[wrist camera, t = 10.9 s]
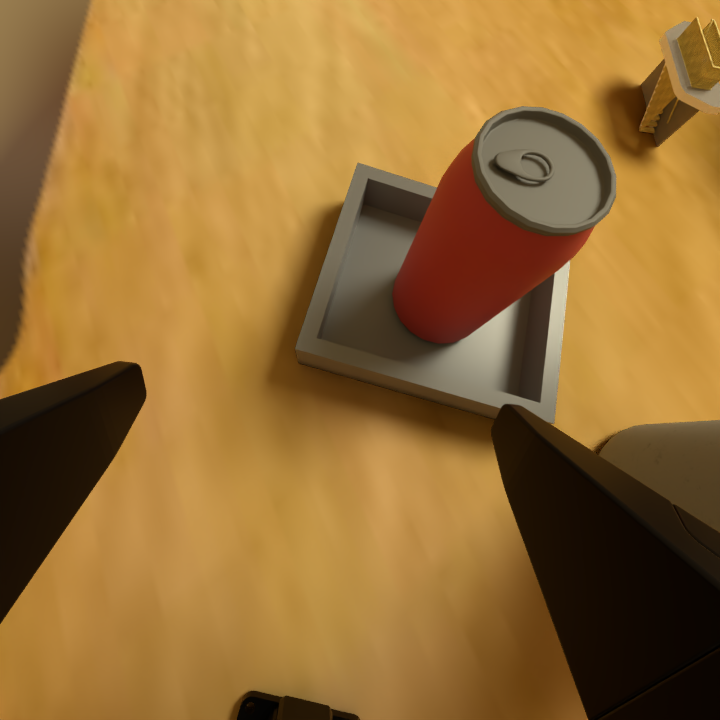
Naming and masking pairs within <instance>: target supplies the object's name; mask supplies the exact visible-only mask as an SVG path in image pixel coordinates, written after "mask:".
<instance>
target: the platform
mask: <svg viewBox="0 0 720 720" xmlns="http://www.w3.org/2000/svg"><path fill="white" fill-rule="evenodd" d="M713 25H714V26H713ZM707 27H708V28H707ZM706 28H707V29H706ZM705 29H706V30H705ZM704 30H705V31H704ZM704 30H703V31H702V29H701V26H700V23H699V20H698V17H696V18H695V19H694V20H693V21H692V22H686V21H683V22H682V23H680V24H678V25H676V26H675V27H673V28H671V29H669V30H668V31H666V32H665V33H664V35H663V36H662V37H661V38H660V39H659V42H660V45H661V49H662V52H663V56H664V60H663V61H662V62H661V63H660V64H659V65H658V66H657V67H656V68H655V70H654V71H653V72H652V73H651V74H650V75H649V76H648V77H647V79H646V80H645V81H644V82H643V83H642V84H641V87H642V91H643V95H644V99H645V103H646V107H647V109H646V112H645V114H644V117H643V119H642V122H641V124H640V128H639V129H638V130H639V131H641V132H648V133H653V134H654V138H655V142H656V146H657V147H658V146H660V145H661V144H662V143H663V142H664V141H665V140H666V139H667V138H669V137H670V136H671V135H672V134H673V133H674V132H675V131H677V130H678V129H679V128H680V127H681V126H682V125H683V124H685V123H686V122H687V121H688V120H689V119H690V118H691V117H693V116H694V115H695V114H696V113H697V112H698V111H699V110H700V111H702V112H704V113H708V114H715V115H716V114H718V113H719V112H720V85H719V81H720V63H719V62H720V54H719V53H720V47H719V46H720V33H719V30H718V27H717V24H716V21H715V20H714V19H711V22H710V23H709V24H708V25H707V26H706V27H705V28H704ZM714 33H715V34H714ZM713 34H714V35H713ZM712 35H713V36H712ZM709 36H710V37H709ZM708 37H709V38H708ZM707 38H708V39H707ZM717 39H718V40H717ZM716 40H717V41H716ZM715 41H716V42H715ZM714 42H715V43H714ZM713 43H714V44H713ZM712 44H713V45H712ZM711 45H712V46H711ZM710 46H711V47H710ZM709 47H710V48H709ZM718 47H719V48H718ZM708 48H709V49H708ZM717 48H718V49H717ZM716 49H717V50H716ZM715 50H716V51H715ZM714 51H715V52H714ZM713 52H714V53H713ZM712 53H713V54H712ZM711 54H712V55H711ZM718 54H719V55H718ZM717 55H718V56H717ZM715 59H716V60H715ZM714 60H715V61H714ZM713 61H714V62H713ZM718 63H719V64H718ZM717 64H718V65H717ZM716 65H717V66H716ZM645 126H650V127H645Z"/></svg>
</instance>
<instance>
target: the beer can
mask: <svg viewBox="0 0 720 720" xmlns="http://www.w3.org/2000/svg"><path fill="white" fill-rule="evenodd" d="M615 198H616V174H615V171H614V168H613V165H612V162H611V159H610V156H609V155H608V153H607V152H606V150H605V149H604V147H603V146H602V144H601V143H600V141H599V140H598V139H597V138H596V137H595V136H594V135H593V134H592V133H591V132H590V131H589V130H587V129H586V128H585V127H584V126H583V125H582V124H580V123H578V122H577V121H575V120H573V119H571V118H570V117H568V116H566V115H564V114H562V113H559V112H556V111H553V110H549V109H546V108H543V107H524V106H522V107H518V108H514V109H509V110H505V111H501V112H499V113H498V114H496V115H495V116H493V117H492V118H490V119H489V120H487V121H486V122H485V123H484V125H483V126H482V128H481V129H480V131H479V132H478V134H477V136H476V137H475V139H473V140H472V141H471V142H470V143H469V144H468V145H467V146H466V147H464V148H463V149H462V150H461V152H460V153H459V154H458V155H457V157H456V158H455V159H454V160H453V162H452V163H451V165H450V166H449V168H448V169H447V171H446V172H445V174H444V175H443V177H442V178H441V181H440V183H439V185H438V187H437V189H436V192H435V194H434V196H433V198H432V200H431V203H430V205H429V207H428V209H427V211H426V214H425V216H424V218H423V220H422V222H421V225H420V227H419V229H418V231H417V233H416V236H415V238H414V240H413V242H412V244H411V246H410V249H409V251H408V253H407V255H406V257H405V260H404V262H403V264H402V266H401V268H400V271H399V273H398V275H397V277H396V279H395V283H394V288H393V292H392V295H393V303H394V308H395V310H396V312H397V315H398V317H399V319H400V321H401V322H402V323H403V324H404V325H405V326H406V327H407V329H408V330H409V331H410V332H412V333H413V334H415V335H416V336H418V337H420V338H421V339H423V340H427V341H430V342H434V343H438V344H439V343H454V342H456V341H459V340H461V339H464V338H466V337H467V336H469V335H470V334H472V333H473V332H474V331H476V330H477V329H478V328H480V327H481V326H483V325H484V324H485V323H487V322H488V321H489V320H491V319H492V318H494V317H495V316H496V315H498V314H499V313H500V312H502V311H503V310H505V309H506V308H507V307H509V306H510V305H511V304H513V303H514V302H516V301H517V300H518V299H520V298H521V297H522V296H524V295H525V294H527V293H528V292H529V291H531V290H532V289H533V288H535V287H536V286H538V285H539V284H540V283H542V282H543V281H544V280H546V279H547V278H548V277H550V276H551V275H553V274H554V273H555V272H557V271H558V270H559V269H561V268H562V267H563V266H564V265H565V264H566V263H567V262H568V261H569V260H571V259H572V258H573V257H574V256H575V255H576V254H577V252H578V251H579V250H580V249H581V248H582V246H583V245H584V244H585V242H586V241H587V239H588V237H589V236H590V234H591V232H592V230H593V228H594V227H595V225H596V224H597V223H598V222H600V221H601V220H602V219H603V218H604V217H605V216H606V215H607V214H609V211H610V209H611V207H612V204H613V202H614V200H615Z"/></svg>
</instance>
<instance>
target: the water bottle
mask: <svg viewBox="0 0 720 720" xmlns="http://www.w3.org/2000/svg"><path fill="white" fill-rule="evenodd" d="M599 456H601V457H602V458H604V459H605V460H607V461H609V462H610V463H612V464H613V465H615V466H616V467H618V468H620V469H621V470H623V471H624V472H626V473H627V474H629V475H630V476H632V477H634V478H635V479H637V480H638V481H640V482H641V483H643V484H644V485H646V486H648V487H649V488H651V489H652V490H654V491H655V492H657V493H659V494H660V495H662V496H663V497H665V498H666V499H668V500H669V501H671V503H672V504H676V505H677V506H679V507H681V508H682V509H684V510H685V511H687V512H688V513H690V514H691V515H693V516H695V517H696V518H698V519H699V520H701V521H703V522H704V523H706V524H707V525H709V526H711V527H712V528H714V529H715V530H717V531H718V532H720V420H714V421H697V422H679V423H662V424H646V425H638V426H633V427H630V428H628V429H625V430H623V431H620V432H619V433H617V434H616V435H615V436H613V437H612V438H611V439H610V440H609V441H608V442H607V443H606V445H605V446H604V447H603V448H602V450H601V451H600V453H599Z"/></svg>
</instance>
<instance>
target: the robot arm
mask: <svg viewBox="0 0 720 720" xmlns="http://www.w3.org/2000/svg"><path fill="white" fill-rule="evenodd" d="M145 399H146V387H145V383H144V378H143V374H142V370H141V367H140V366H139V365H138V364H137V363H132V362H123V361H118V362H114V363H111V364H108V365H105V366H102V367H99V368H96V369H92V370H89V371H86V372H83V373H80V374H77V375H74V376H71V377H68V378H65V379H62V380H59V381H56V382H52V383H49V384H46V385H43V386H40V387H37V388H34V389H31V390H28V391H25V392H22V393H19V394H15V395H12V396H9V397H6V398H3V399H0V624H1V622H2V621H3V619H4V618H5V616H6V615H7V614H8V612H9V611H10V609H11V608H12V606H13V605H14V603H15V602H16V600H17V599H18V597H19V596H20V595H21V593H22V592H23V590H24V589H25V587H26V586H27V584H28V583H29V581H30V580H31V579H32V577H33V576H34V574H35V573H36V571H37V570H38V568H39V567H40V565H41V564H42V563H43V561H44V560H45V558H46V557H47V555H48V554H49V552H50V551H51V549H52V548H53V546H54V545H55V544H56V542H57V541H58V539H59V538H60V536H61V535H62V533H63V532H64V530H65V529H66V528H67V526H68V525H69V523H70V522H71V520H72V519H73V517H74V516H75V514H76V513H77V512H78V510H79V509H80V507H81V506H82V504H83V503H84V501H85V500H86V498H87V497H88V495H89V494H90V493H91V491H92V490H93V488H94V487H95V485H96V484H97V482H98V481H99V479H100V478H101V477H102V475H103V474H104V472H105V471H106V469H107V468H108V466H109V465H110V463H111V462H112V460H113V459H114V457H115V455H116V454H117V452H118V450H119V449H120V447H121V445H122V443H123V441H124V439H125V438H126V436H127V434H128V432H129V430H130V428H131V426H132V424H133V423H134V421H135V419H136V417H137V415H138V413H139V411H140V410H141V408H142V406H143V404H144V402H145ZM491 437H492V441H493V445H494V449H495V453H496V457H497V461H498V465H499V469H500V473H501V477H502V481H503V485H504V488H505V491H506V494H507V497H508V500H509V503H510V506H511V508H512V511H513V514H514V517H515V519H516V522H517V525H518V528H519V530H520V533H521V536H522V539H523V541H524V544H525V547H526V550H527V552H528V555H529V558H530V561H531V563H532V566H533V569H534V572H535V574H536V577H537V580H538V583H539V585H540V588H541V591H542V594H543V596H544V599H545V602H546V605H547V607H548V610H549V613H550V616H551V618H552V621H553V624H554V627H555V629H556V632H557V635H558V638H559V640H560V643H561V646H562V649H563V652H564V654H565V657H566V660H567V663H568V665H569V668H570V671H571V674H572V676H573V679H574V682H575V685H576V687H577V690H578V693H579V696H580V698H581V701H582V704H583V707H584V709H585V712H586V715H587V718H588V720H720V532H718V531H717V530H715V529H714V528H712V527H711V526H709V525H707V524H706V523H704V522H703V521H701V520H699V519H698V518H696V517H695V516H693V515H691V514H690V513H688V512H687V511H685V510H684V509H682V508H681V507H679V506H677V505H676V504H672V503H671V501H669V500H668V499H666V498H665V497H663V496H662V495H660V494H659V493H657V492H655V491H654V490H652V489H651V488H649V487H648V486H646V485H644V484H643V483H641V482H640V481H638V480H637V479H635V478H634V477H632V476H630V475H629V474H627V473H626V472H624V471H623V470H621V469H620V468H618V467H616V466H615V465H613V464H612V463H610V462H609V461H607V460H605V459H604V458H602V457H601V456H599V455H598V454H596V453H595V452H593V451H591V450H590V449H588V448H587V447H585V446H584V445H582V444H581V443H579V442H577V441H576V440H574V439H573V438H571V437H570V436H568V435H566V434H565V433H563V432H562V431H560V430H559V429H557V428H556V427H554V426H552V425H551V424H549V423H548V422H546V421H545V420H543V419H541V418H540V417H538V416H537V415H535V414H534V413H532V412H531V411H529V410H527V409H526V408H524V407H523V406H521V405H516V404H504V405H503V406H502V407H501V409H500V411H499V413H498V415H497V417H496V419H495V421H494V424H493V426H492V429H491ZM249 702H252V703H254V705H255V707H253V708H249V707H248V706H247V704H248V703H249ZM237 720H360V719H359V717H358V716H356V715H354V714H350V713H346V712H341V711H337V710H333V709H330V707H329V706H327V705H323V704H319V703H315V702H311V701H306V700H302V699H298V698H294V697H290V696H284V697H279V696H274V695H270V694H266V693H262V692H258V691H250V692H248V693H247V694H246V695H245V696H244V698H243V700H242V703H241V706H240V710H239V713H238V717H237Z"/></svg>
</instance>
